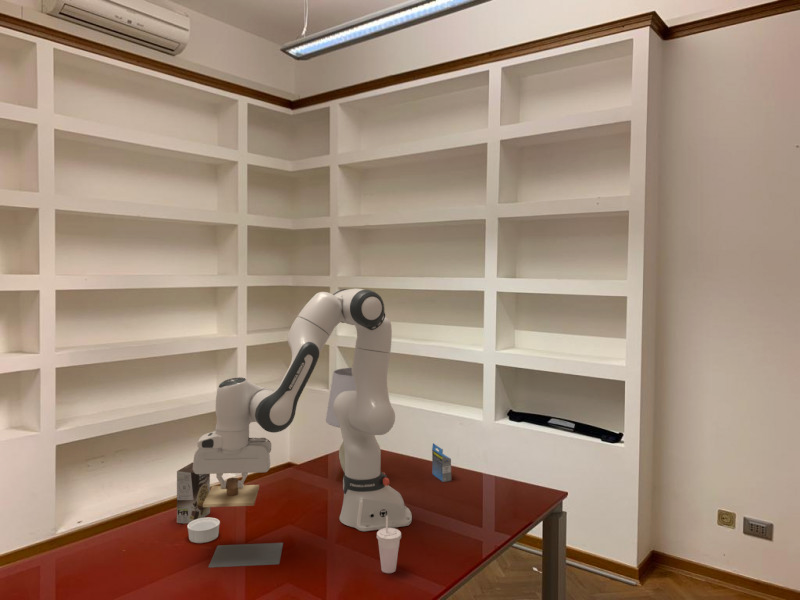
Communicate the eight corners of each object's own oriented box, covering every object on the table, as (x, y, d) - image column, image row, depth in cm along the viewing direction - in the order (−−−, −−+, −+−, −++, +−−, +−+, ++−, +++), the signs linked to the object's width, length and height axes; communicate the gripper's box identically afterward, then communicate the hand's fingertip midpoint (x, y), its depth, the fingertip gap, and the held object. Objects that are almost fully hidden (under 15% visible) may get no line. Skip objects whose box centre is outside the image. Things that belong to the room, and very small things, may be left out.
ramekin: (181, 538, 167) (181, 524, 167) (209, 528, 174) (209, 514, 174) (197, 548, 161) (197, 533, 161) (226, 537, 168) (226, 523, 168)
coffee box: (195, 525, 176) (194, 472, 175) (176, 523, 177) (175, 471, 176) (211, 512, 185) (210, 462, 184) (192, 511, 186) (192, 461, 185)
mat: (283, 544, 164) (283, 542, 164) (279, 565, 152) (279, 564, 152) (217, 546, 162) (217, 545, 162) (208, 568, 150) (208, 567, 150)
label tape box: (451, 481, 214) (452, 448, 214) (441, 482, 213) (442, 449, 212) (440, 473, 223) (441, 441, 222) (431, 474, 221) (431, 442, 220)
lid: (259, 487, 166) (259, 470, 166) (253, 505, 153) (253, 487, 153) (212, 488, 165) (212, 472, 164) (202, 507, 152) (202, 489, 152)
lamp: (326, 468, 227) (326, 366, 225) (387, 466, 229) (388, 365, 227) (325, 491, 203) (325, 378, 201) (393, 489, 206) (394, 377, 204)
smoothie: (375, 563, 154) (376, 511, 153) (400, 562, 154) (400, 511, 153) (376, 576, 147) (377, 522, 147) (402, 575, 148) (402, 521, 147)
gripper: (272, 434, 163) (272, 482, 163) (196, 435, 160) (196, 485, 161) (270, 440, 157) (270, 491, 157) (191, 442, 154) (191, 493, 155)
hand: (232, 488), depth 159 cm, fingers closed on lid, 3 cm apart
